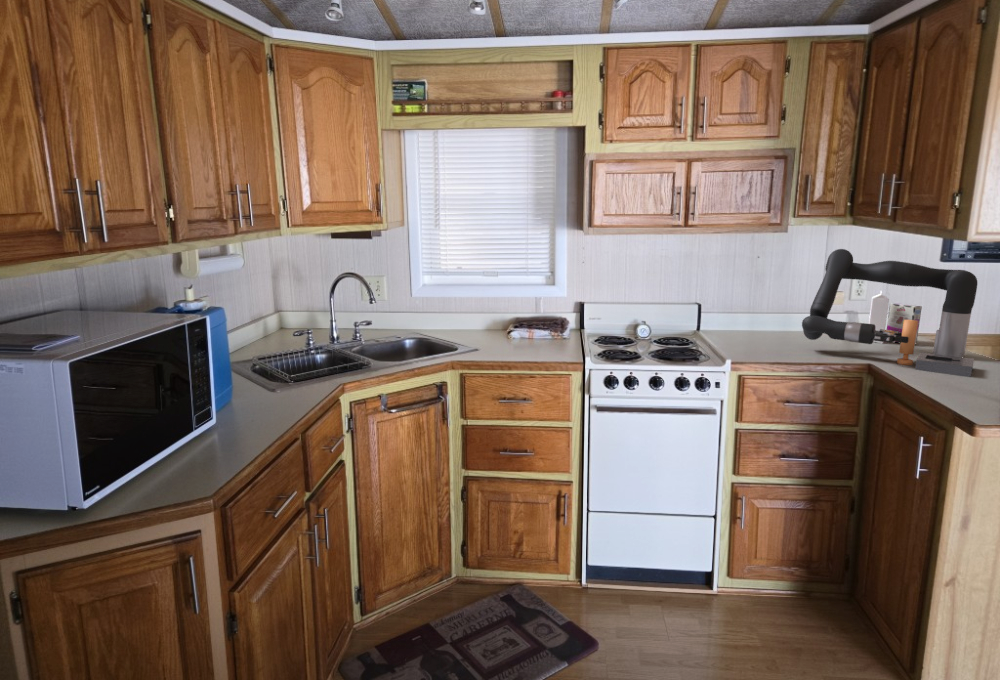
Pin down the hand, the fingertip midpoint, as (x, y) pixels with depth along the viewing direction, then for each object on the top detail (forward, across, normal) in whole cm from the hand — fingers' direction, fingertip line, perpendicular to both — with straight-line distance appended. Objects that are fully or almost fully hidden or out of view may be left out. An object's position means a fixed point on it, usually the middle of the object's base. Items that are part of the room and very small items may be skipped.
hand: (909, 338), depth 236 cm
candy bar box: (-7, +47, +10) cm, 48 cm away
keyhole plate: (+12, 0, +10) cm, 15 cm away
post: (0, 0, +10) cm, 10 cm away
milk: (-16, +41, +10) cm, 45 cm away
